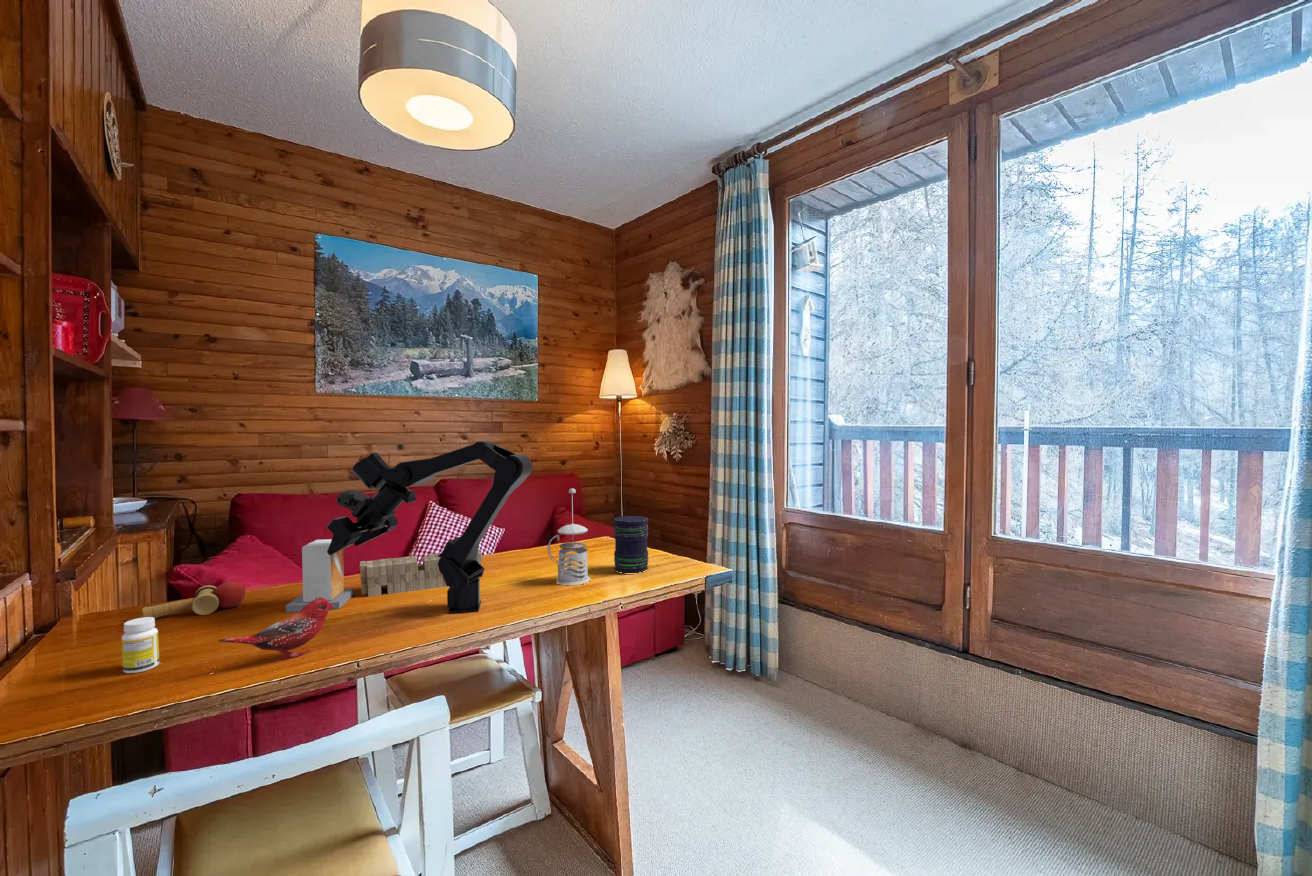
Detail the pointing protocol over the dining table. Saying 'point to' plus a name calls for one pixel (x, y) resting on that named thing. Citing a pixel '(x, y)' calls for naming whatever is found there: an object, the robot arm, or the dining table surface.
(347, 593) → the flat grey square mat
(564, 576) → the french press
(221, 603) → the kendama
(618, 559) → the storage jar
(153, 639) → the supplement bottle
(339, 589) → the small box
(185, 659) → the dining table surface
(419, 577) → the block tower
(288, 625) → the decorative bird figurine
